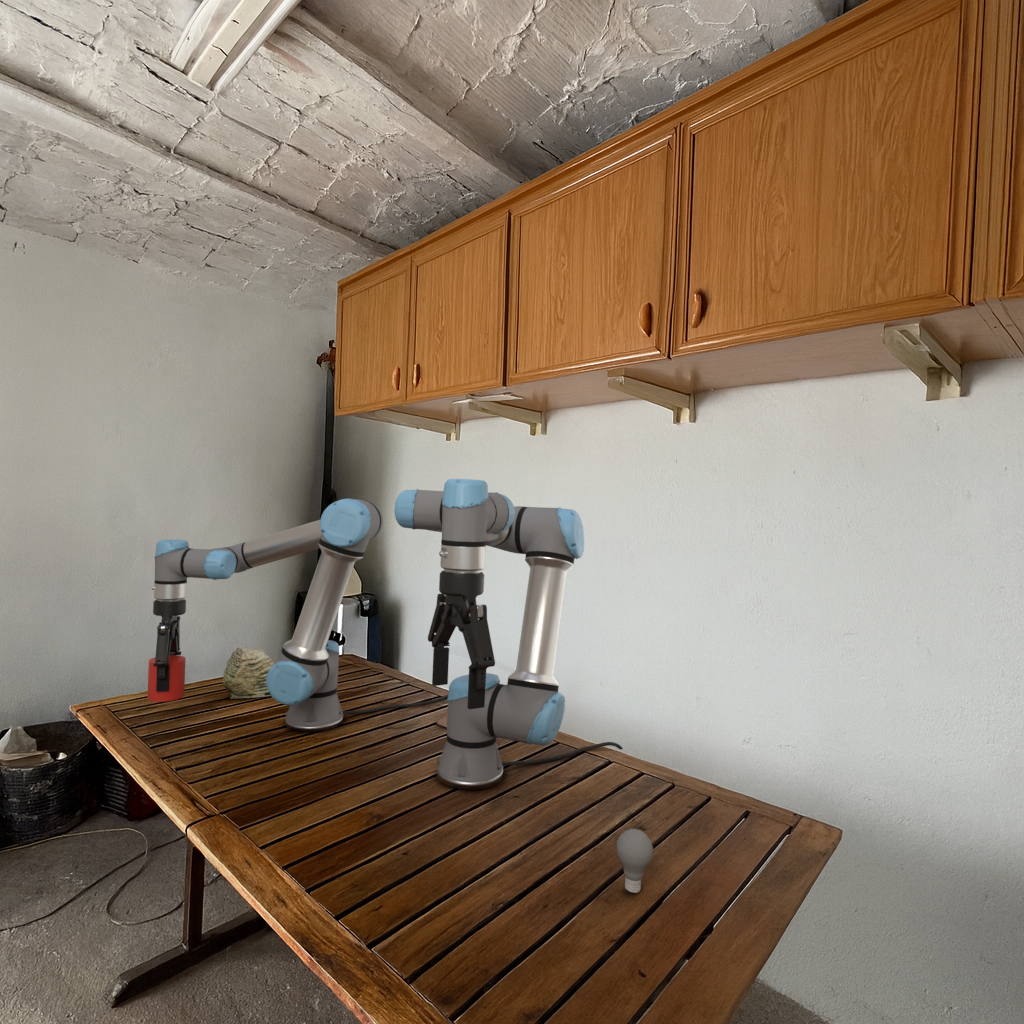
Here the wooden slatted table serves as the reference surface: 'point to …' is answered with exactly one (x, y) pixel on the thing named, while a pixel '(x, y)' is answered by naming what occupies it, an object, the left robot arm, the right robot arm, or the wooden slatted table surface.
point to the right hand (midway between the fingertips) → (456, 695)
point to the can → (174, 680)
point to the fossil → (247, 673)
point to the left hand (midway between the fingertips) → (166, 685)
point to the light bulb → (634, 857)
